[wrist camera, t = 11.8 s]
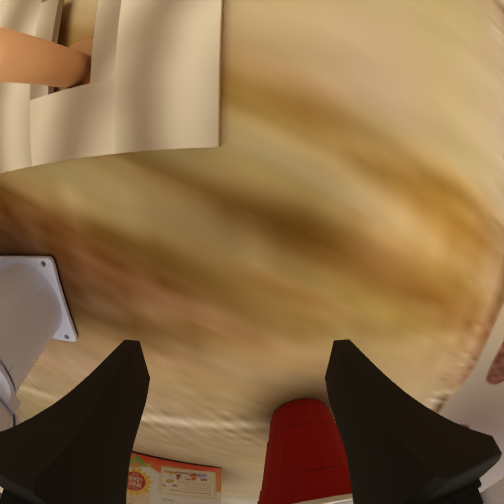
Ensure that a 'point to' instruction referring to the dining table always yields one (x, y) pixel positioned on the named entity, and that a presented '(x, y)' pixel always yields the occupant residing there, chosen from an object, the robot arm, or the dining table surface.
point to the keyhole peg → (44, 61)
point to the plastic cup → (305, 457)
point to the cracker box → (171, 482)
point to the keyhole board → (119, 83)
